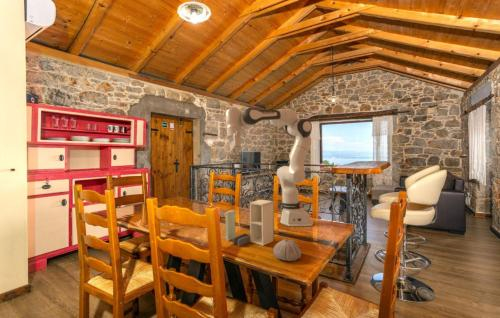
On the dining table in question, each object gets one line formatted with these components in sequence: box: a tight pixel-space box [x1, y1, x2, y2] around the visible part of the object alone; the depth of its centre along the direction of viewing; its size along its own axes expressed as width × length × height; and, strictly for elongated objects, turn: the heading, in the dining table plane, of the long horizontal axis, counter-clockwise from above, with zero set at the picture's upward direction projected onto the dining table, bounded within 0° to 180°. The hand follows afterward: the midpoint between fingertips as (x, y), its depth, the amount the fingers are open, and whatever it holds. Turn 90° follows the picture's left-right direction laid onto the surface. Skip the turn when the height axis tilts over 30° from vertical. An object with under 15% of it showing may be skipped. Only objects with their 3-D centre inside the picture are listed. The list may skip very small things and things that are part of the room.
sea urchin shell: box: [272, 239, 302, 262], centre depth 119 cm, size 13×14×8 cm
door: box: [224, 209, 236, 242], centre depth 145 cm, size 3×6×16 cm, turn 140°
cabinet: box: [232, 199, 275, 247], centre depth 138 cm, size 14×19×22 cm
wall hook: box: [209, 205, 225, 218], centre depth 190 cm, size 8×10×10 cm
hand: (236, 155), depth 152 cm, fingers open, 8 cm apart
